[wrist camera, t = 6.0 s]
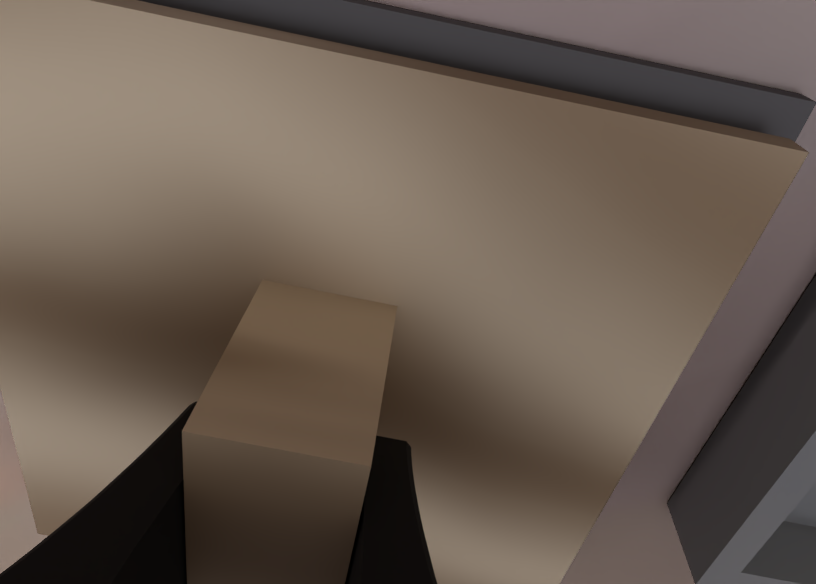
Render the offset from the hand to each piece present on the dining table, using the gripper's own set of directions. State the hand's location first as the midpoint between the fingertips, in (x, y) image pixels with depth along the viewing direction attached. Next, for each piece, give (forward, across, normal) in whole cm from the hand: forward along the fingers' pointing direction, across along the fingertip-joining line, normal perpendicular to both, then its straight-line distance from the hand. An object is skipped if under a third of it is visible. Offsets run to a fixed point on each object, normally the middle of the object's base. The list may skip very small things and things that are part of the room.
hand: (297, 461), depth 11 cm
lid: (+2, 0, 0) cm, 2 cm away
